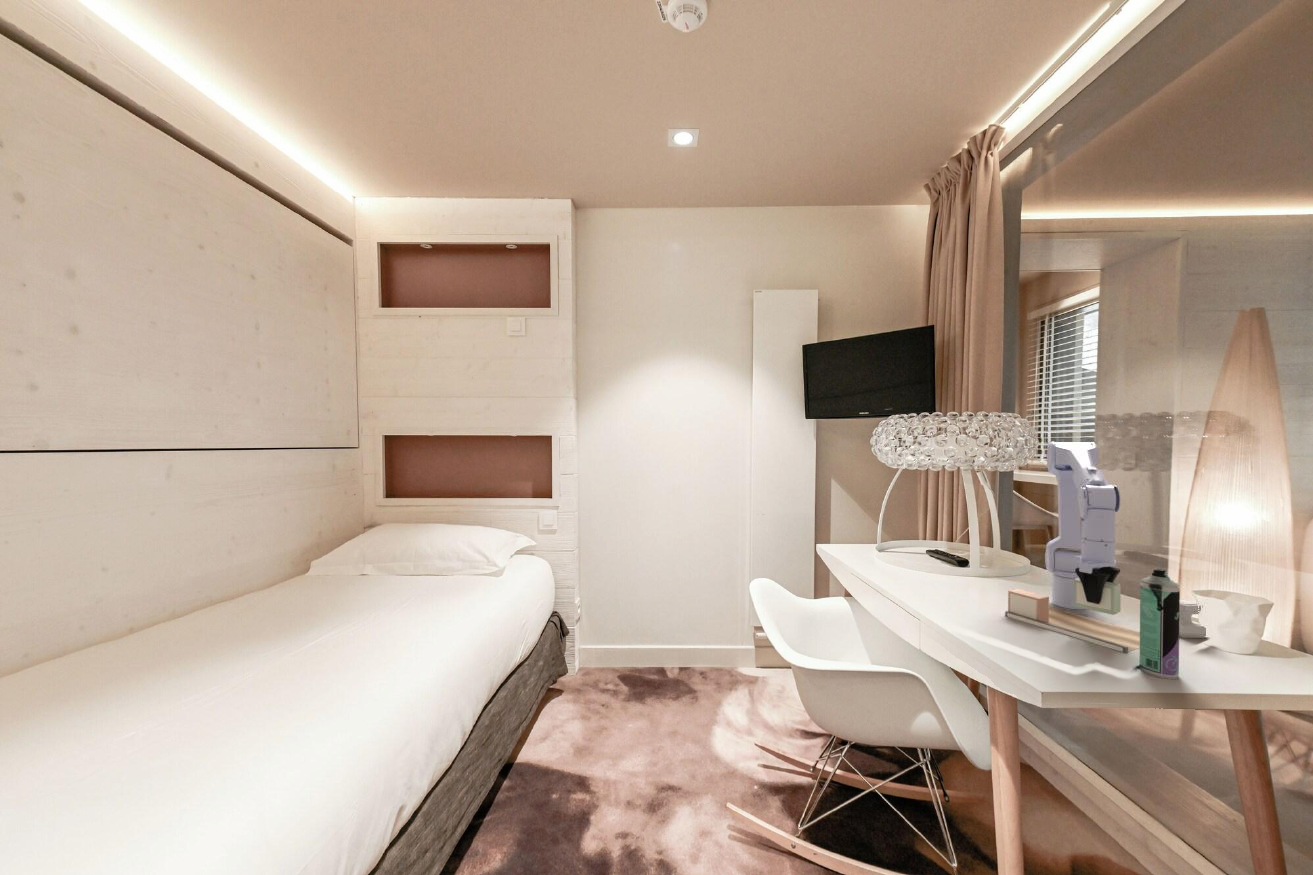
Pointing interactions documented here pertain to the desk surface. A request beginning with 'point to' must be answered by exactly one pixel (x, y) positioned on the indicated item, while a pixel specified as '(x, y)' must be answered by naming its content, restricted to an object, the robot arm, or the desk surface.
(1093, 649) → the desk surface
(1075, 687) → the desk surface
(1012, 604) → the clay carton
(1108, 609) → the sage carton
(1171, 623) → the spray can
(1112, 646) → the rail
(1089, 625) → the shelf board
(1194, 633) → the stamp
